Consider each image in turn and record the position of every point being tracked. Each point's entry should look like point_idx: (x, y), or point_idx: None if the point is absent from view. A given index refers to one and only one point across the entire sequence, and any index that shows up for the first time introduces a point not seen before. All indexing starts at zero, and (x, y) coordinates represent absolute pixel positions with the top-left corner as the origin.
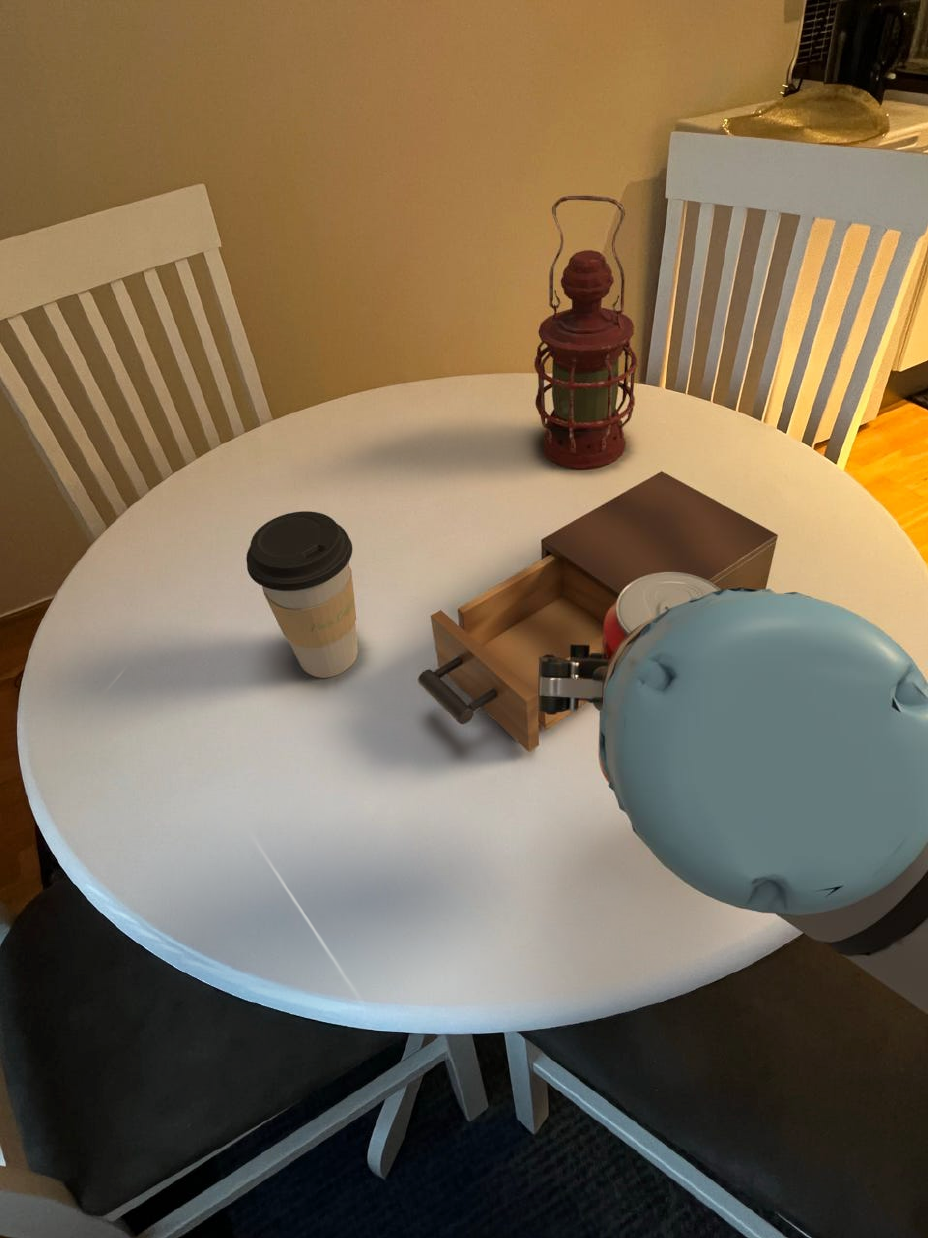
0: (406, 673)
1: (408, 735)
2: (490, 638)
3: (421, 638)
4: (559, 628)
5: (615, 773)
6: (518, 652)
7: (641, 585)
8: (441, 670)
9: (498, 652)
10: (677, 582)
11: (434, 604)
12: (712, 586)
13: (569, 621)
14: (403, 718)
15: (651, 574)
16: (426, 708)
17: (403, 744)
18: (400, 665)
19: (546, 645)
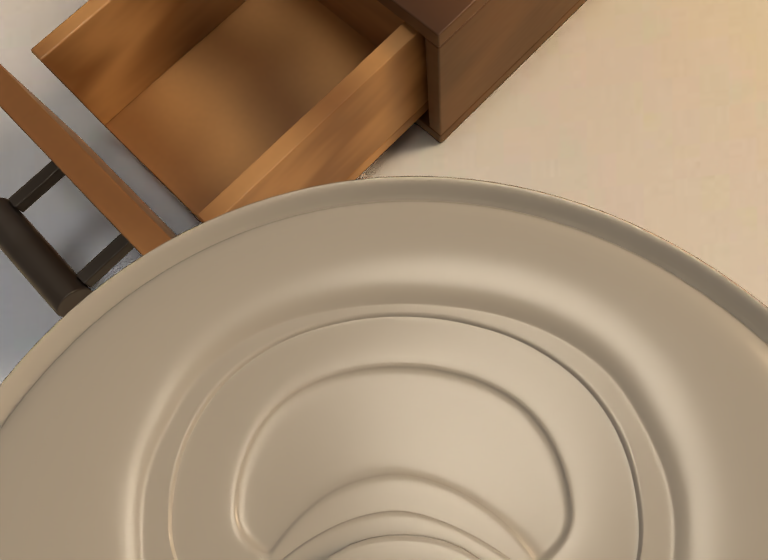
0: (14, 166)
1: (21, 300)
2: (144, 85)
3: (38, 87)
4: (274, 46)
5: None
6: (199, 110)
7: (123, 369)
8: (22, 195)
9: (162, 114)
10: (436, 301)
11: (59, 10)
12: (751, 324)
13: (292, 28)
14: (12, 264)
15: (225, 218)
16: (51, 238)
17: (13, 320)
18: (3, 150)
19: (250, 88)
